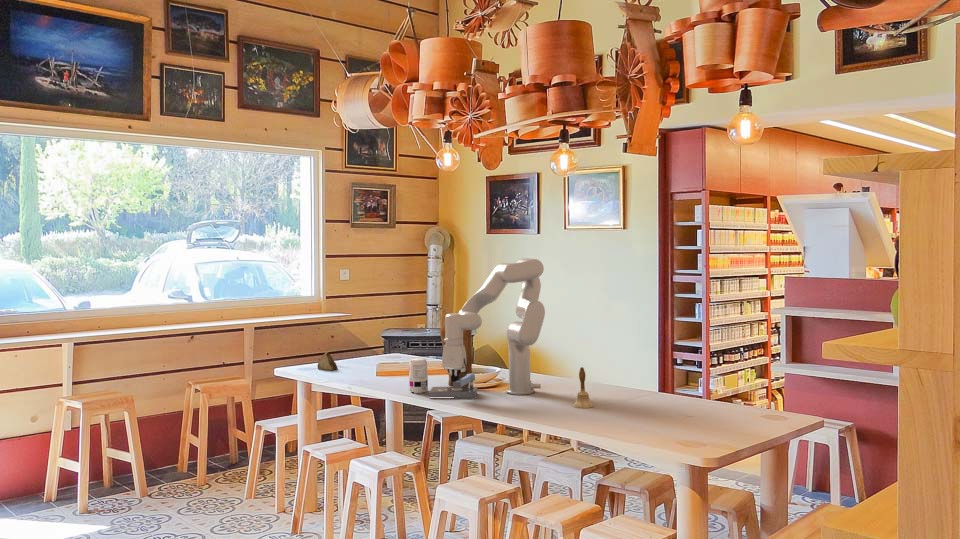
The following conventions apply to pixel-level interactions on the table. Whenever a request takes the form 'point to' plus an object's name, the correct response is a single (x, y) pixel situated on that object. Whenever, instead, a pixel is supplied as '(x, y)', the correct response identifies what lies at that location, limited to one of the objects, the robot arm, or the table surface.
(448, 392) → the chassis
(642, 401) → the table surface
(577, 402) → the hand bell
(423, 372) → the supplement can
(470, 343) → the pancake mix bag
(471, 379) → the bar
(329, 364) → the rock
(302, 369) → the table surface
